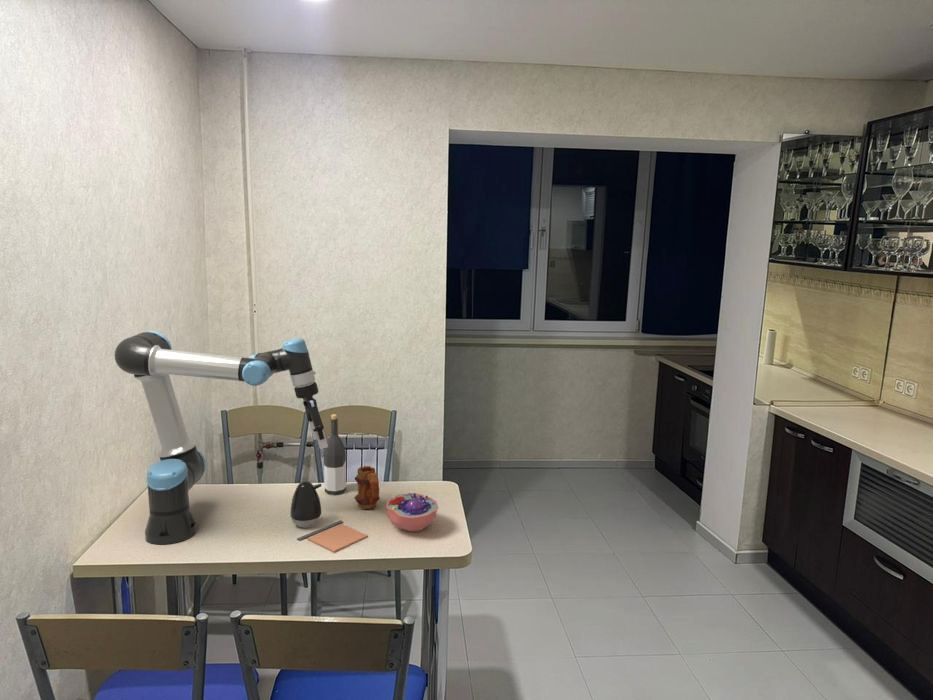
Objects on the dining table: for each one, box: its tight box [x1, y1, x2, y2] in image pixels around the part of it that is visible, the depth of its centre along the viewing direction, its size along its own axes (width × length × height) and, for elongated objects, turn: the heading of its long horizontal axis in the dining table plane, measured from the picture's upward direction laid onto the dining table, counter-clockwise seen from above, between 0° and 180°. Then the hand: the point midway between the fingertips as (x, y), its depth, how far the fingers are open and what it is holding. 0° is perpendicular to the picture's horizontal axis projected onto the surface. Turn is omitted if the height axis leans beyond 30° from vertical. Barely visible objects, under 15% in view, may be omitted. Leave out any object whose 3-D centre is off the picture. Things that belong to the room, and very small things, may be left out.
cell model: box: [385, 492, 439, 533], centre depth 219 cm, size 17×20×11 cm
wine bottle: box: [323, 413, 347, 496], centre depth 246 cm, size 8×8×30 cm
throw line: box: [296, 519, 344, 542], centre depth 216 cm, size 2×18×1 cm, turn 141°
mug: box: [353, 465, 380, 510], centre depth 232 cm, size 15×8×15 cm, turn 27°
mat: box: [306, 523, 369, 554], centre depth 211 cm, size 13×14×1 cm
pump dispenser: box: [289, 480, 323, 528], centre depth 219 cm, size 10×10×15 cm
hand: (320, 443), depth 223 cm, fingers open, 13 cm apart
